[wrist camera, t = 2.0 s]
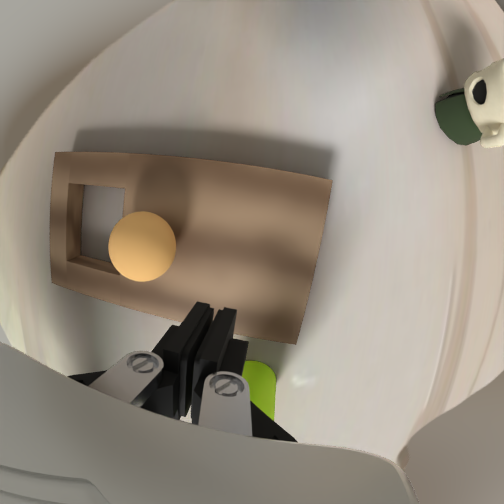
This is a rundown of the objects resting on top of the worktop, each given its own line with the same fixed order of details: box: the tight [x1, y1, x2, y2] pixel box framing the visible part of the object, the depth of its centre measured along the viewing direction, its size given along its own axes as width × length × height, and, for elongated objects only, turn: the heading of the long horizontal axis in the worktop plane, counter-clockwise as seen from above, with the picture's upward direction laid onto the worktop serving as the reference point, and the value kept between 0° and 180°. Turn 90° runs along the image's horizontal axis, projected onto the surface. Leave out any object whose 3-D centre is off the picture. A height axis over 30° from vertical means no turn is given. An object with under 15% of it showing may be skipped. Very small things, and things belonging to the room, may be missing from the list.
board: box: [50, 152, 333, 345], centre depth 27 cm, size 16×30×3 cm, turn 81°
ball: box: [108, 211, 176, 282], centre depth 23 cm, size 6×6×6 cm
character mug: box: [435, 58, 504, 148], centre depth 16 cm, size 11×7×13 cm, turn 147°
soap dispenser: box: [242, 361, 276, 421], centre depth 22 cm, size 6×7×20 cm
